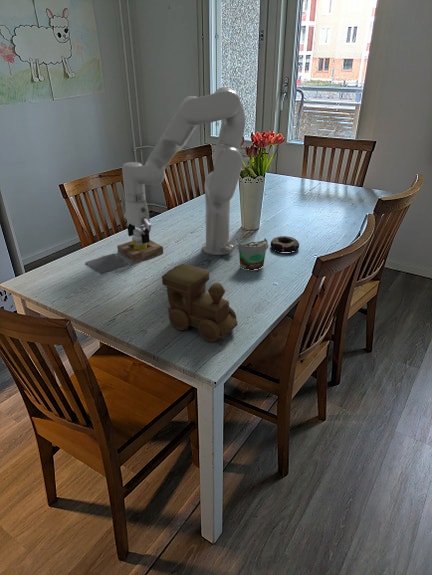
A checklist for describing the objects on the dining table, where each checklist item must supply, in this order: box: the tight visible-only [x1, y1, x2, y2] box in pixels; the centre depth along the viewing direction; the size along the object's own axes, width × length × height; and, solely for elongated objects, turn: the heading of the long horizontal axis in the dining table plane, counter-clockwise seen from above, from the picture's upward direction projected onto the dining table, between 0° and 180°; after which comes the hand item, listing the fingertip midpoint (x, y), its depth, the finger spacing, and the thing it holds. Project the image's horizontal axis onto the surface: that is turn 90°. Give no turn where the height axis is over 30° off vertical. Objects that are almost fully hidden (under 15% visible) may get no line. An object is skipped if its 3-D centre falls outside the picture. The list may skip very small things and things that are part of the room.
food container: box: [237, 238, 269, 270], centre depth 153 cm, size 12×6×10 cm, turn 117°
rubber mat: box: [85, 253, 130, 275], centre depth 158 cm, size 12×12×1 cm
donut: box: [270, 235, 300, 253], centre depth 170 cm, size 12×12×4 cm
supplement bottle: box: [131, 228, 147, 251], centre depth 164 cm, size 5×5×10 cm
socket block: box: [116, 239, 164, 264], centre depth 166 cm, size 13×13×3 cm
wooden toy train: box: [161, 263, 238, 343], centre depth 118 cm, size 20×11×17 cm, turn 57°
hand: (138, 239), depth 164 cm, fingers open, 9 cm apart
